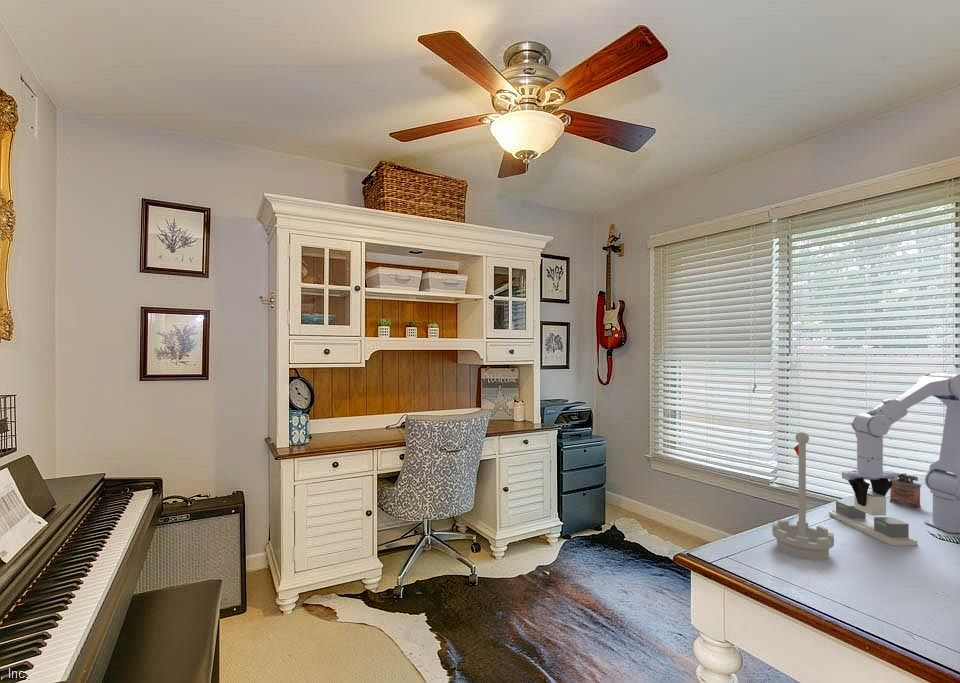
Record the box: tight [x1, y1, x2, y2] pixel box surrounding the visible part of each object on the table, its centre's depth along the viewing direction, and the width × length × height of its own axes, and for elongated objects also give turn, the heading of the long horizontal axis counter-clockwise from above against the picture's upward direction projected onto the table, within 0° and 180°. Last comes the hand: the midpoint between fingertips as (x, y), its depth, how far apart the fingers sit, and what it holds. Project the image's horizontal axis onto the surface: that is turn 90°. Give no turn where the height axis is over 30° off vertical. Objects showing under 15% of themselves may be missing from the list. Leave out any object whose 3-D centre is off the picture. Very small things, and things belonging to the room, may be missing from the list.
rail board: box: [828, 499, 918, 546], centre depth 138 cm, size 7×22×5 cm, turn 1°
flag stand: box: [771, 431, 835, 561], centre depth 124 cm, size 13×13×30 cm
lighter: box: [889, 472, 922, 510], centre depth 158 cm, size 8×3×10 cm, turn 25°
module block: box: [854, 489, 887, 516], centre depth 137 cm, size 4×6×5 cm, turn 1°
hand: (869, 504), depth 138 cm, fingers closed on module block, 4 cm apart
